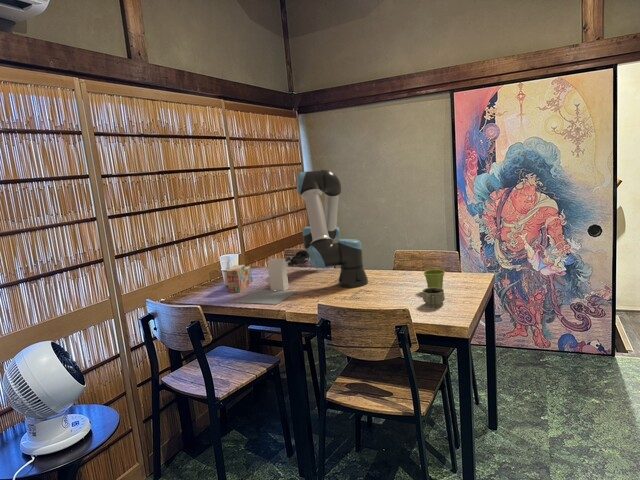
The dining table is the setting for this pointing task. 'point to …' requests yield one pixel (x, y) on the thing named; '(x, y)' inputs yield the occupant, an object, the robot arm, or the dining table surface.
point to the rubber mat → (266, 297)
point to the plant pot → (434, 278)
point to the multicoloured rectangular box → (239, 278)
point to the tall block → (278, 274)
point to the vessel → (433, 297)
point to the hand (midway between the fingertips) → (283, 265)
